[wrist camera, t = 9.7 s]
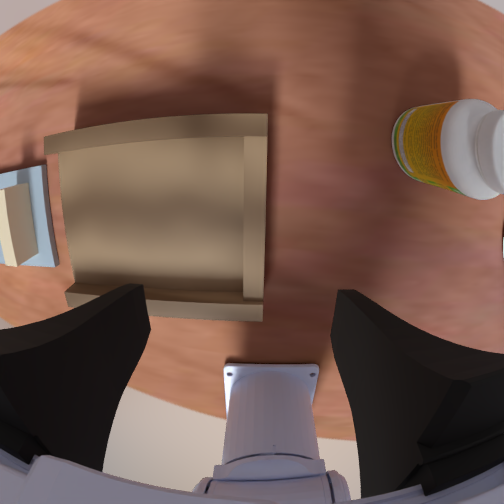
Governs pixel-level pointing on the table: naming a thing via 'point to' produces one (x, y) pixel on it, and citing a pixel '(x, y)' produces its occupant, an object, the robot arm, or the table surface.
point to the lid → (26, 219)
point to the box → (168, 212)
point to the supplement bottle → (453, 146)
